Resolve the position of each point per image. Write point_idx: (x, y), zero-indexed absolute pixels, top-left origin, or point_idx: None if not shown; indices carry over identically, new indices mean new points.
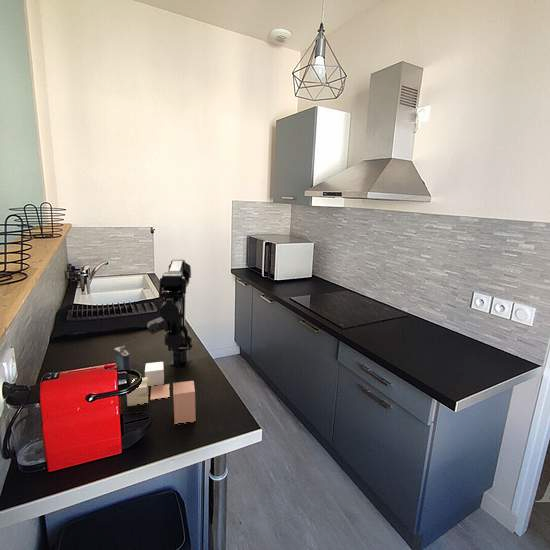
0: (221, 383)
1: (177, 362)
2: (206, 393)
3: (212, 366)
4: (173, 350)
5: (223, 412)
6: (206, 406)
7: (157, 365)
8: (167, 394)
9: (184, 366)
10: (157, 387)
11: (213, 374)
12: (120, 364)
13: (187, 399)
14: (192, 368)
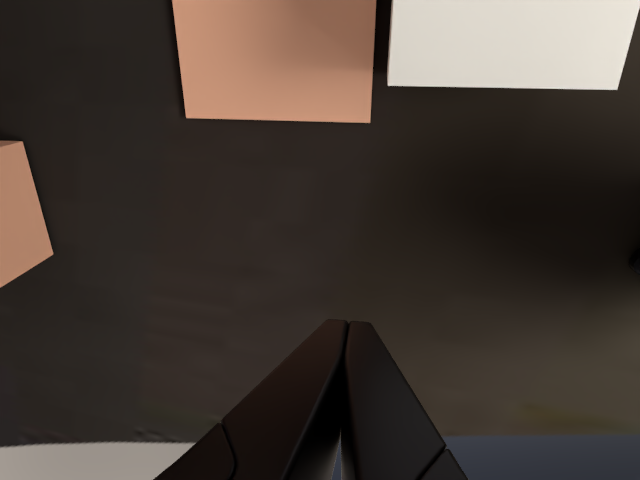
0: None
1: None
2: (208, 336)
3: (529, 428)
4: (298, 360)
5: (38, 372)
6: (86, 314)
7: (533, 5)
8: (217, 103)
9: (629, 261)
10: (340, 16)
11: None
12: None
13: None
14: (567, 310)
